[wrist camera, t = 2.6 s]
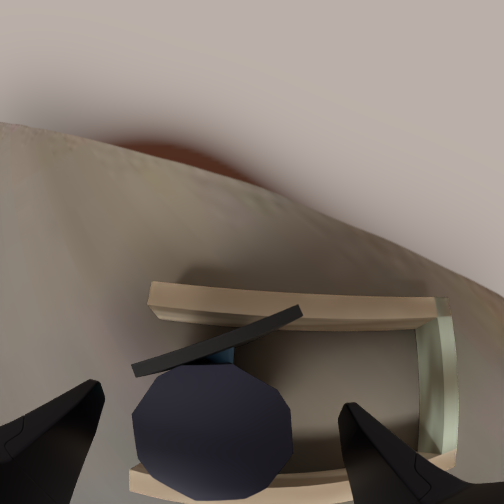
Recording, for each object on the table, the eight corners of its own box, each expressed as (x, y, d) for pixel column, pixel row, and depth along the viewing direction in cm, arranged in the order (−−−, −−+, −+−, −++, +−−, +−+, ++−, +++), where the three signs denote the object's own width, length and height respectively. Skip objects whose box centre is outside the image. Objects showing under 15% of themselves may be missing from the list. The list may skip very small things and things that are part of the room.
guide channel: (430, 463, 13) (454, 466, 10) (144, 478, 12) (129, 490, 9) (426, 310, 19) (448, 297, 16) (163, 298, 18) (152, 281, 16)
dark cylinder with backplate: (168, 333, 17) (113, 288, 8) (256, 334, 18) (301, 290, 8) (171, 443, 14) (124, 514, 5) (261, 443, 15) (310, 514, 5)
